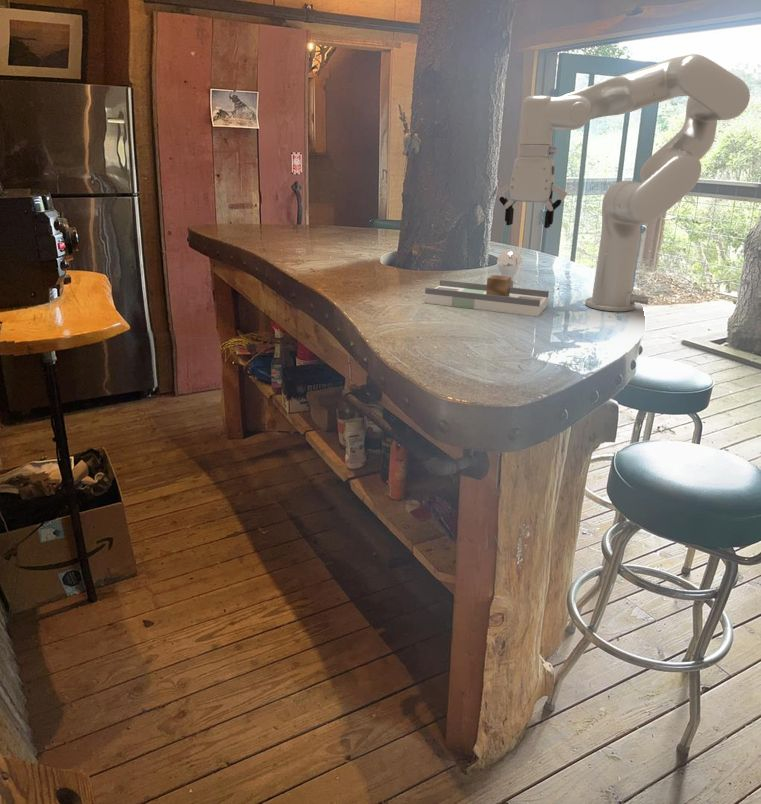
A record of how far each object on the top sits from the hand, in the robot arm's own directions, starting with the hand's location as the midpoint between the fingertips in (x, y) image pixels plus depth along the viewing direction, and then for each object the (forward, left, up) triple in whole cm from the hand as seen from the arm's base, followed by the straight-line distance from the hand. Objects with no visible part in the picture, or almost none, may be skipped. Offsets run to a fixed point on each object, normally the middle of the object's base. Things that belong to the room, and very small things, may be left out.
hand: (528, 226), depth 162 cm
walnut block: (+6, +1, -18) cm, 19 cm away
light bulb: (+8, -18, -21) cm, 29 cm away
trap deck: (+9, +1, -21) cm, 23 cm away
